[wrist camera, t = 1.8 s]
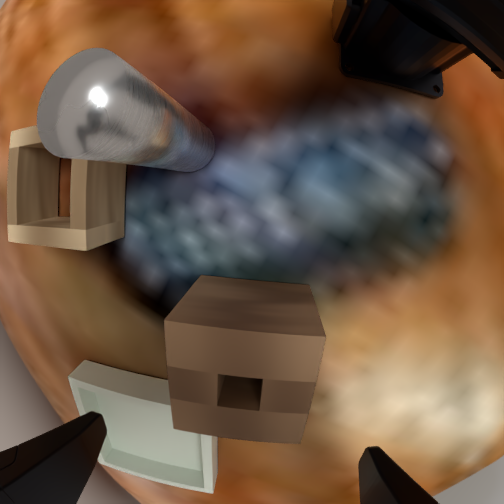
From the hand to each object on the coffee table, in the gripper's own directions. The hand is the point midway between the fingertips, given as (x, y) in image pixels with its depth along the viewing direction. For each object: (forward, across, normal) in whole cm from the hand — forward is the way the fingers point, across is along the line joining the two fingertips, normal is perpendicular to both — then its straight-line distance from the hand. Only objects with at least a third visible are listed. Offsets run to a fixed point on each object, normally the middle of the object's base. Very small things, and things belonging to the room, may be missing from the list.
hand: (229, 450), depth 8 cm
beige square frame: (+9, +11, -8) cm, 16 cm away
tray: (+9, +7, +10) cm, 15 cm away
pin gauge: (+9, +4, -10) cm, 14 cm away
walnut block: (+9, 0, 0) cm, 9 cm away
